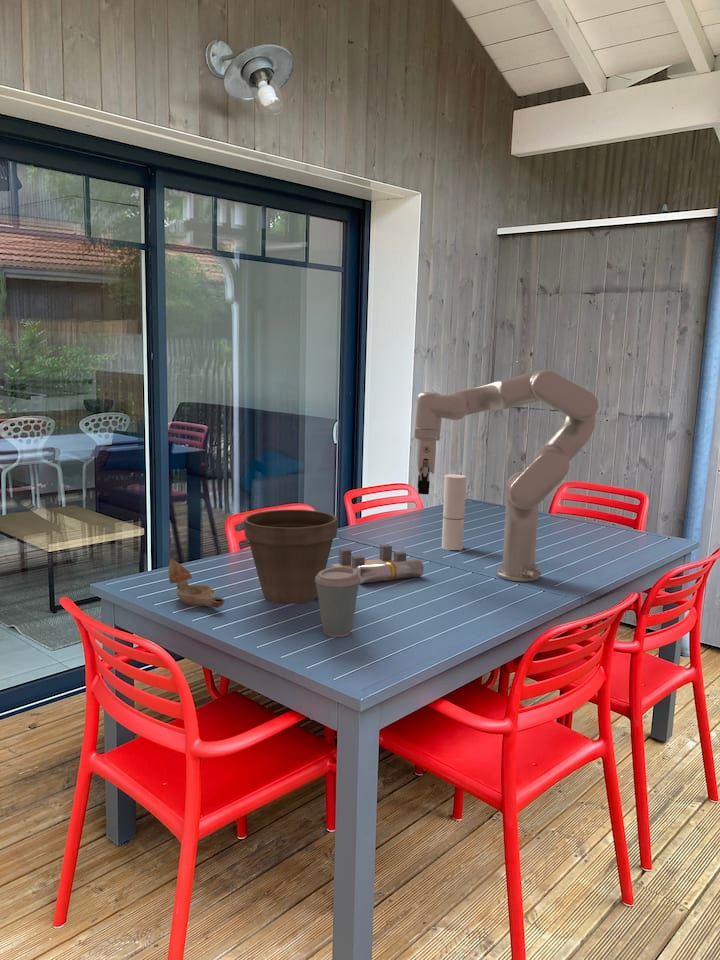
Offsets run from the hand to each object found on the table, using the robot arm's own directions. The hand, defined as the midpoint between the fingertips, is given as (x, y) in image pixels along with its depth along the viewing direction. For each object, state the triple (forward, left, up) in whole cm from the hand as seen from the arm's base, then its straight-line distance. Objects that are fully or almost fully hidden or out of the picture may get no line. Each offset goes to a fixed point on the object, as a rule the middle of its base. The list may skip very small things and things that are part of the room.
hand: (422, 491), depth 232 cm
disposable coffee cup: (-39, +46, -25) cm, 65 cm away
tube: (-6, +14, -25) cm, 29 cm away
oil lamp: (-5, +70, -25) cm, 75 cm away
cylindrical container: (+19, -24, -25) cm, 40 cm away
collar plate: (+5, +14, -25) cm, 29 cm away
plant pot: (-9, +46, -25) cm, 53 cm away
